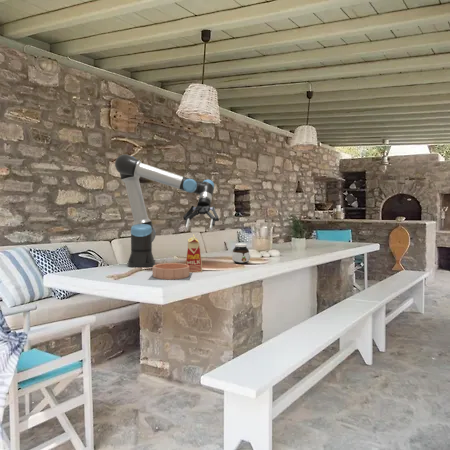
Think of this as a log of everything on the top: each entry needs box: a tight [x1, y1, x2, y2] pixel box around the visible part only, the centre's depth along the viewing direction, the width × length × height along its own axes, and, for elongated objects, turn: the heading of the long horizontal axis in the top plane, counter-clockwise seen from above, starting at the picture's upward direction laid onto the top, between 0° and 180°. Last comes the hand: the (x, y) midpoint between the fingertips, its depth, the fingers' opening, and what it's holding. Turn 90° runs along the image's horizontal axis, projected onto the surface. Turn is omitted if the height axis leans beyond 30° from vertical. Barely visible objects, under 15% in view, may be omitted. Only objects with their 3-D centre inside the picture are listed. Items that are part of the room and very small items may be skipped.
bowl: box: [152, 262, 191, 281], centre depth 220 cm, size 18×18×5 cm
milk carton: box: [185, 233, 203, 274], centre depth 234 cm, size 9×9×20 cm
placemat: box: [147, 272, 193, 281], centre depth 220 cm, size 20×20×1 cm
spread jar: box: [232, 242, 251, 265], centre depth 268 cm, size 12×11×12 cm
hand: (198, 229), depth 244 cm, fingers open, 13 cm apart
